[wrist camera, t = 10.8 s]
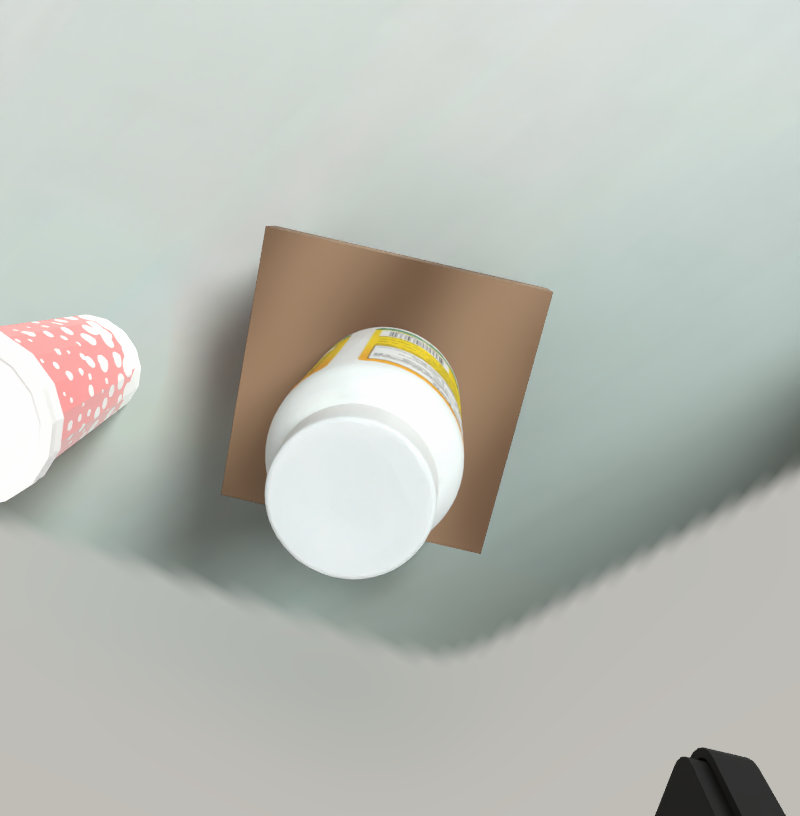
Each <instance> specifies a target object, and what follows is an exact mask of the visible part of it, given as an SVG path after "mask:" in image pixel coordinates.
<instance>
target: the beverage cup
mask: <svg viewBox="0 0 800 816" xmlns="http://www.w3.org/2000/svg"><path fill="white" fill-rule="evenodd" d="M140 372H141V366H140V362H139V358H138V354H137V350H136V348H135V346H134V345H133V343H132V342H131V341H130V339H129V338H128V336H127V335H126V333H125V332H124V331H123V330H121V329H120V328H118V327H117V326H116V325H114V324H113V323H111V322H110V321H108V320H107V319H103V318H99V317H95V316H91V315H80V316H73V317H65V318H58V319H51V320H44V321H36V322H29V323H22V324H14V325H7V326H0V502H5V501H7V500H8V499H10V498H12V497H13V496H15V495H16V494H18V493H20V492H21V491H23V490H24V489H26V488H28V487H29V486H31V485H32V484H34V483H35V482H37V480H38V479H40V478H42V477H43V476H44V475H45V473H46V472H47V470H48V469H49V467H50V465H51V464H52V462H53V461H54V459H55V458H56V457H58V456H59V455H60V454H62V453H63V452H64V451H66V450H67V449H68V448H69V447H71V446H72V445H73V444H75V443H76V442H77V441H79V440H80V439H81V438H83V437H84V436H85V435H87V434H88V433H89V432H90V431H92V430H93V429H94V428H96V427H97V426H98V425H100V424H101V423H102V422H104V421H105V420H106V419H107V418H109V417H110V416H111V415H113V414H114V413H115V412H117V411H118V410H119V409H121V408H122V407H123V406H125V405H126V404H127V403H128V402H129V401H130V399H131V398H132V396H133V395H134V393H135V391H136V390H137V388H138V385H139V378H140Z"/></svg>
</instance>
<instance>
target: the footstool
mask: <svg viewBox="0 0 800 816" xmlns="http://www.w3.org/2000/svg"><path fill="white" fill-rule="evenodd" d="M552 294H553V292H552V291H550V290H548V289H547V288H543V287H539V286H534V285H530V284H526V283H521V282H517V281H513V280H508V279H504V278H500V277H495V276H491V275H487V274H482V273H478V272H474V271H469V270H465V269H460V268H456V267H452V266H447V265H443V264H439V263H434V262H430V261H426V260H421V259H417V258H413V257H408V256H404V255H400V254H395V253H391V252H387V251H382V250H378V249H374V248H369V247H365V246H361V245H356V244H352V243H347V242H343V241H339V240H334V239H330V238H326V237H321V236H317V235H313V234H308V233H304V232H300V231H295V230H291V229H287V228H282V227H278V226H266V228H265V234H264V240H263V246H262V252H261V258H260V264H259V270H258V276H257V282H256V288H255V294H254V300H253V306H252V312H251V318H250V324H249V330H248V336H247V342H246V348H245V354H244V360H243V366H242V372H241V378H240V384H239V390H238V396H237V402H236V408H235V414H234V420H233V426H232V432H231V438H230V444H229V450H228V456H227V462H226V468H225V474H224V480H223V486H222V492H221V495H225V496H229V497H234V498H238V499H243V500H247V501H251V502H256V503H260V504H264V505H265V484H266V477H267V471H266V463H265V450H266V442H267V436H268V432H269V428H270V426H271V423H272V420H273V418H274V416H275V414H276V412H277V410H278V408H279V407H280V405H281V404H282V402H283V401H284V399H285V398H286V396H287V395H288V394H289V393H290V391H291V390H292V389H293V388H294V386H295V385H297V384H298V383H299V382H300V381H301V380H302V379H303V378H304V377H305V376H306V375H307V373H308V372H309V371H310V370H311V369H312V368H313V367H314V366H315V365H316V364H317V363H318V361H319V360H320V359H321V358H322V357H323V356H324V355H325V354H326V353H327V352H328V351H329V350H330V349H331V348H332V347H333V346H334V345H335V344H336V343H338V342H339V341H341V340H342V339H344V338H345V337H347V336H349V335H351V334H353V333H355V332H358V331H360V330H364V329H368V328H374V327H392V328H398V329H403V330H406V331H409V332H412V333H414V334H416V335H418V336H420V337H422V338H424V339H425V340H427V341H428V342H430V343H431V344H432V345H433V346H435V347H436V348H437V349H438V350H439V351H440V352H441V354H442V355H443V356H444V357H445V359H446V360H447V361H448V363H449V365H450V367H451V368H452V370H453V372H454V375H455V377H456V380H457V383H458V388H459V394H460V402H461V419H462V429H463V442H464V468H463V476H462V480H461V484H460V488H459V490H458V493H457V496H456V498H455V500H454V502H453V504H452V506H451V507H450V509H449V510H448V512H447V513H446V515H445V516H444V517H443V519H442V520H441V521H440V522H439V523H438V524H437V525H436V526H435V527H434V528H433V529H432V530H431V531H430V533H429V535H428V537H427V538H426V540H425V541H427V542H431V543H435V544H440V545H444V546H448V547H453V548H457V549H462V550H466V551H470V552H475V553H479V554H481V550H482V547H483V543H484V540H485V536H486V532H487V529H488V525H489V522H490V518H491V514H492V511H493V507H494V504H495V500H496V496H497V493H498V489H499V485H500V482H501V478H502V475H503V471H504V467H505V464H506V460H507V457H508V453H509V449H510V446H511V442H512V439H513V435H514V431H515V428H516V424H517V420H518V417H519V413H520V410H521V406H522V402H523V399H524V395H525V392H526V388H527V384H528V381H529V377H530V374H531V370H532V366H533V363H534V359H535V355H536V352H537V348H538V345H539V341H540V337H541V334H542V330H543V327H544V323H545V319H546V316H547V312H548V309H549V305H550V301H551V298H552Z"/></svg>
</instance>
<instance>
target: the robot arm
mask: <svg viewBox="0 0 800 816" xmlns="http://www.w3.org/2000/svg"><path fill="white" fill-rule="evenodd" d="M655 816H786V815H785V814H784V812H783V810H782V808H781V807H780V805H779V803H778V801H777V800H776V798H775V796H774V794H773V793H772V791H771V789H770V787H769V786H768V784H767V782H766V780H765V779H764V777H763V775H762V773H761V772H760V770H759V768H758V767H757V765H756V764H755V763H754V762H753V761H752V760H750V759H748V758H746V757H741V756H737V755H733V754H729V753H724V752H720V751H715V750H711V749H707V748H698V749H697V750H696V751H694V752H693V754H692V755H691V757H690V758H688V757H681V758H680V759H679V760H678V761H677V762H676V764H675V766H674V769H673V771H672V774H671V776H670V779H669V781H668V784H667V786H666V789H665V792H664V794H663V797H662V799H661V802H660V805H659V807H658V809H657V812H656V814H655Z"/></svg>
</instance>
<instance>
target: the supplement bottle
mask: <svg viewBox="0 0 800 816" xmlns="http://www.w3.org/2000/svg"><path fill="white" fill-rule="evenodd" d="M265 463H266V471H267V477H266V484H265V505H266V511H267V516H268V519H269V522H270V524H271V526H272V529H273V531H274V533H275V535H276V537H277V538H278V539H279V541H280V542H281V543H282V545H283V546H284V547H285V548H286V549H287V551H288V552H289V553H290V554H291V555H292V556H293V557H294V558H296V559H297V560H298V561H299V562H301V563H302V564H304V565H306V566H307V567H309V568H310V569H313V570H315V571H317V572H319V573H322V574H325V575H327V576H331V577H335V578H342V579H366V578H372V577H376V576H379V575H382V574H385V573H388V572H390V571H392V570H394V569H396V568H397V567H399V566H401V565H402V564H404V563H405V562H406V561H408V560H409V559H410V558H411V557H412V556H413V555H414V554H415V553H416V552H417V551H418V550H419V549H420V547H421V546H422V545H423V543H424V542H425V540H426V538H427V537H428V535H429V533H430V531H431V530H432V529H433V528H434V527H435V526H436V525H437V524H438V523H439V522H440V521H441V520H442V519H443V517H444V516H445V515H446V513H447V512H448V510H449V509H450V507H451V506H452V504H453V502H454V500H455V498H456V496H457V493H458V490H459V488H460V484H461V480H462V476H463V468H464V442H463V429H462V419H461V402H460V394H459V388H458V383H457V380H456V377H455V375H454V372H453V370H452V368H451V367H450V365H449V363H448V361H447V360H446V359H445V357H444V356H443V355H442V354H441V352H440V351H439V350H438V349H437V348H436V347H435V346H433V345H432V344H431V343H430V342H428V341H427V340H425V339H424V338H422V337H420V336H418V335H416V334H414V333H412V332H409V331H406V330H403V329H398V328H392V327H374V328H368V329H364V330H360V331H358V332H355V333H353V334H351V335H349V336H347V337H345V338H344V339H342V340H341V341H339V342H338V343H336V344H335V345H334V346H333V347H332V348H331V349H330V350H329V351H328V352H327V353H326V354H325V355H324V356H323V357H322V358H321V359H320V360H319V361H318V363H317V364H316V365H315V366H314V367H313V368H312V369H311V370H310V371H309V372H308V373H307V375H306V376H305V377H304V378H303V379H302V380H301V381H300V382H299V383H298V384H297V385H295V386H294V388H293V389H292V390H291V391H290V393H289V394H288V395H287V396H286V398H285V399H284V401H283V402H282V404H281V405H280V407H279V408H278V410H277V412H276V414H275V416H274V418H273V420H272V423H271V426H270V428H269V432H268V436H267V442H266V450H265Z"/></svg>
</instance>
